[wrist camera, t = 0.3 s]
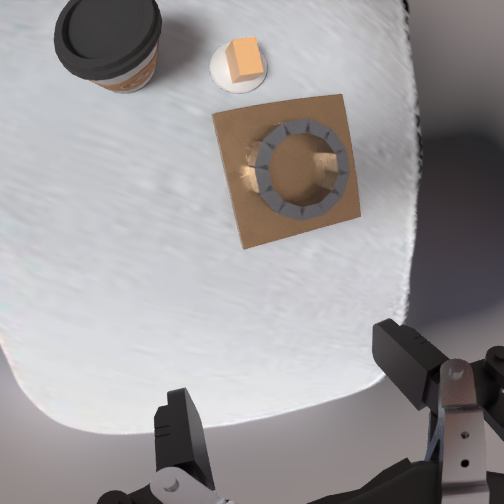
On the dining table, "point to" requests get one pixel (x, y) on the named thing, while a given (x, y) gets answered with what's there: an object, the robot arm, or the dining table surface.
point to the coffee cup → (109, 41)
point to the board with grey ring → (288, 167)
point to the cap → (238, 66)
